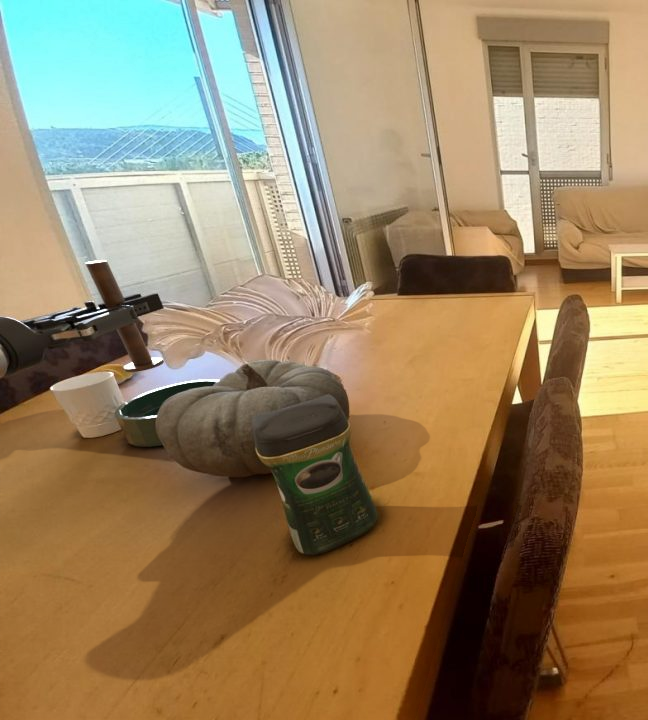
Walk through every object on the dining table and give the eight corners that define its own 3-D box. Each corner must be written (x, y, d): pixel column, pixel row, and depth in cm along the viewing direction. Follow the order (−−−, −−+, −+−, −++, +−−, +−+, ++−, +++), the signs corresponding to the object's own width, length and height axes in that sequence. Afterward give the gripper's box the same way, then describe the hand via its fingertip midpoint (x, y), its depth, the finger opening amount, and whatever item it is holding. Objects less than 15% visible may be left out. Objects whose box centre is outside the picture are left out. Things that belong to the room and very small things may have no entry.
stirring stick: (123, 367, 81) (72, 262, 74) (162, 358, 85) (117, 257, 77) (125, 374, 78) (72, 266, 71) (165, 365, 81) (119, 260, 74)
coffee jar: (368, 499, 68) (334, 383, 61) (385, 528, 62) (349, 404, 55) (289, 532, 62) (241, 408, 55) (300, 568, 57) (248, 435, 49)
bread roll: (141, 372, 113) (134, 357, 112) (116, 388, 105) (108, 372, 104) (98, 377, 111) (90, 362, 110) (70, 394, 103) (61, 377, 102)
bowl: (126, 428, 89) (111, 400, 86) (228, 398, 99) (218, 372, 97) (133, 460, 79) (117, 429, 76) (246, 423, 89) (235, 395, 87)
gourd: (121, 507, 64) (94, 383, 60) (220, 438, 87) (206, 346, 83) (330, 489, 70) (317, 376, 66) (370, 429, 94) (362, 343, 90)
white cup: (135, 413, 94) (113, 368, 90) (136, 428, 89) (112, 380, 85) (78, 429, 89) (51, 381, 85) (75, 445, 84) (47, 395, 80)
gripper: (-60, 379, 62) (116, 322, 84) (54, 377, 62) (201, 320, 84) (-95, 326, 60) (97, 281, 81) (24, 323, 59) (185, 278, 81)
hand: (149, 301), depth 82 cm, fingers closed on stirring stick, 2 cm apart
